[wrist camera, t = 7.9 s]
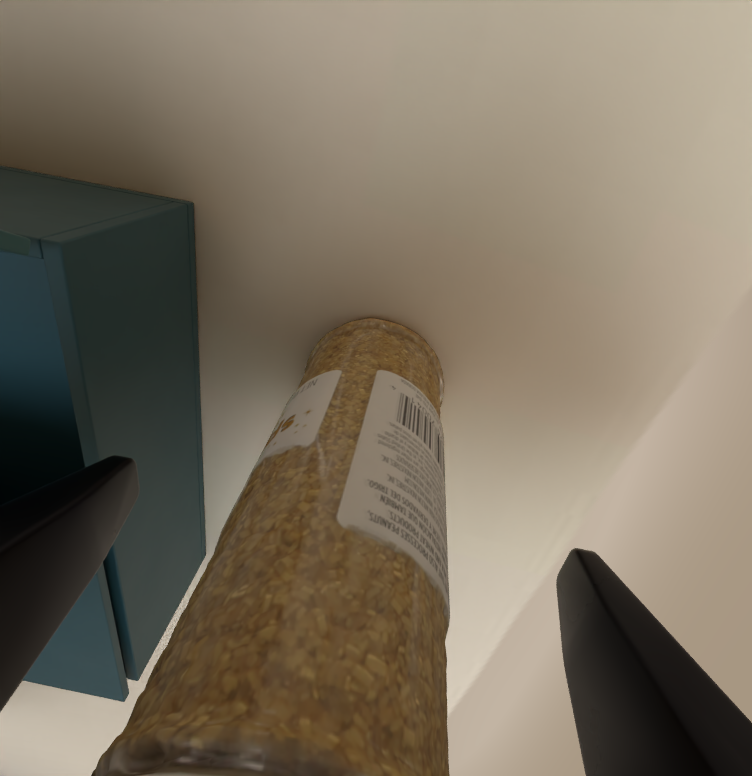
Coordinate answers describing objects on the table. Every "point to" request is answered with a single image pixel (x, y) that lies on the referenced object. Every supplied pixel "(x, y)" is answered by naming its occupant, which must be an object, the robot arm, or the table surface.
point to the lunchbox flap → (14, 243)
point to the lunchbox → (105, 401)
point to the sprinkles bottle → (319, 589)
